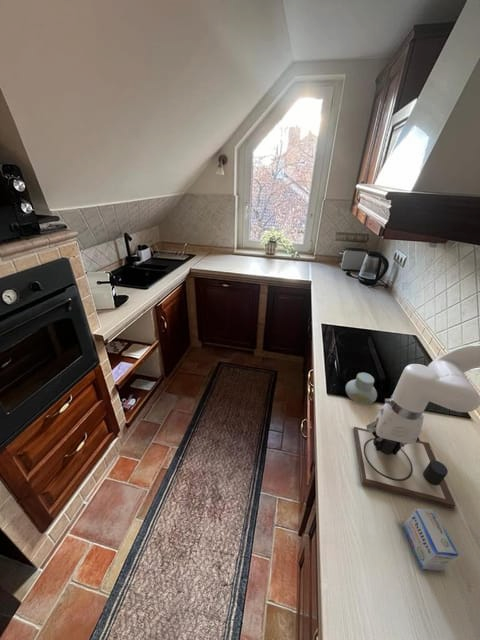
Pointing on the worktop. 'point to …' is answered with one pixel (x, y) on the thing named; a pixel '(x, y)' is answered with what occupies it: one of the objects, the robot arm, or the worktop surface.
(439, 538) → the medicine box
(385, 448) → the cylinder
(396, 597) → the worktop surface
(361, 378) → the air freshener
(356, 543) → the worktop surface
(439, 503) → the sketch board
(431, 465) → the cylinder
